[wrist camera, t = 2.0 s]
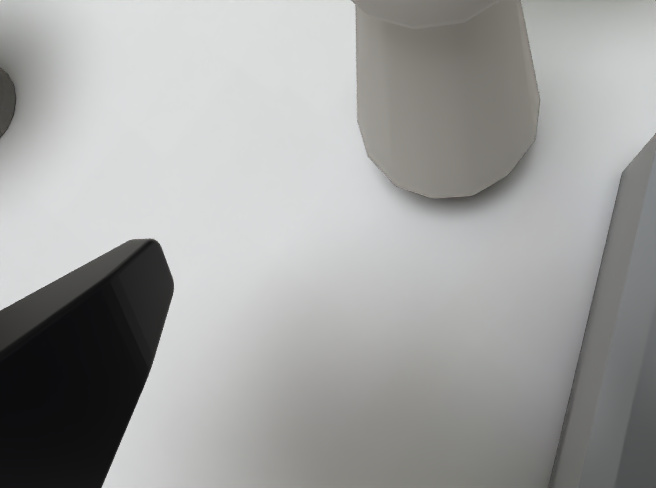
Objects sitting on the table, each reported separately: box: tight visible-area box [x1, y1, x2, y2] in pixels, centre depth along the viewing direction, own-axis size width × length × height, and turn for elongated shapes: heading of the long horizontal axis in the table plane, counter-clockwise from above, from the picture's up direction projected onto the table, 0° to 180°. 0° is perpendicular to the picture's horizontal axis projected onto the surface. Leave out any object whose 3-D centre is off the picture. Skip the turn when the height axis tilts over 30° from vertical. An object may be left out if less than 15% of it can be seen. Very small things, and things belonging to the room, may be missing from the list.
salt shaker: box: [351, 0, 540, 199], centre depth 15 cm, size 6×6×13 cm
